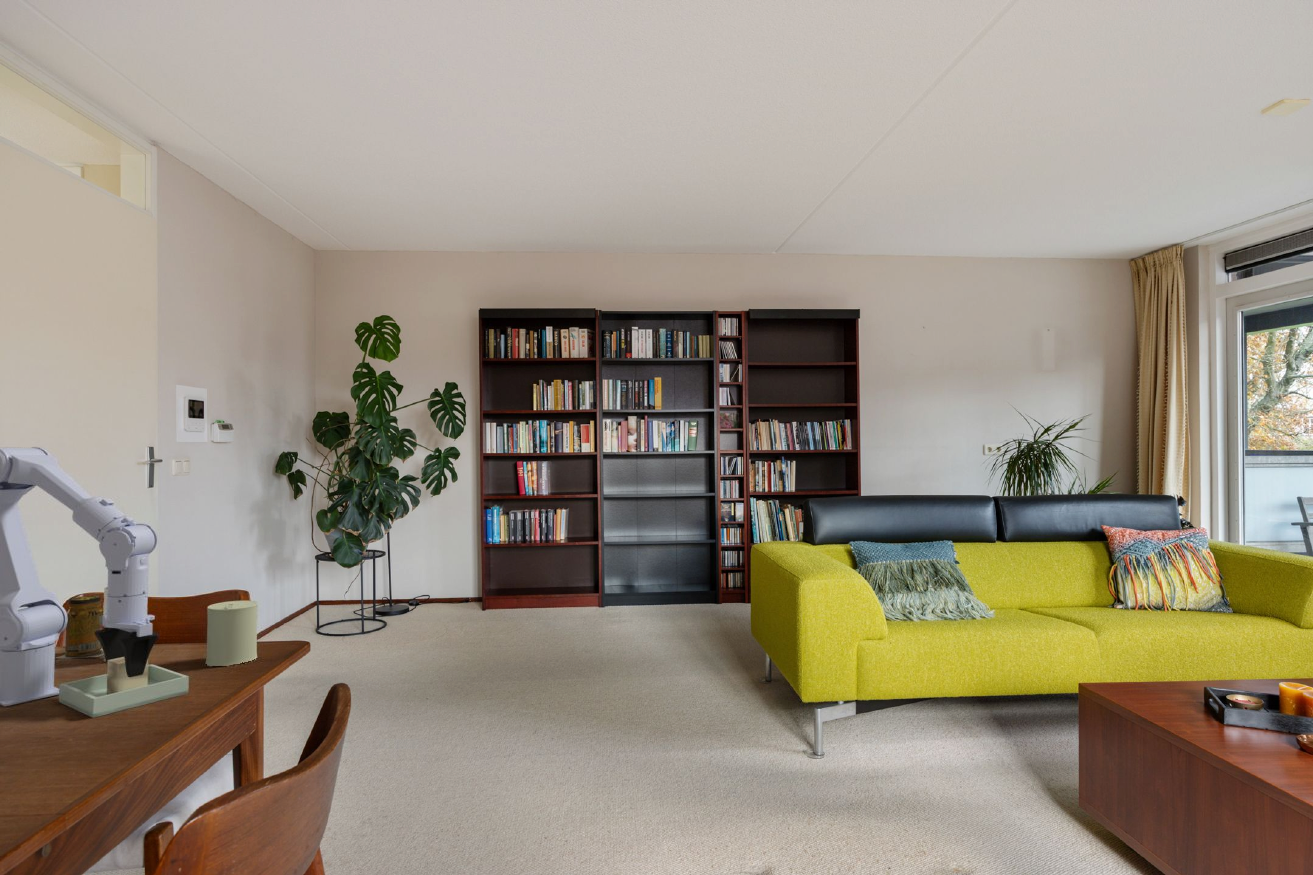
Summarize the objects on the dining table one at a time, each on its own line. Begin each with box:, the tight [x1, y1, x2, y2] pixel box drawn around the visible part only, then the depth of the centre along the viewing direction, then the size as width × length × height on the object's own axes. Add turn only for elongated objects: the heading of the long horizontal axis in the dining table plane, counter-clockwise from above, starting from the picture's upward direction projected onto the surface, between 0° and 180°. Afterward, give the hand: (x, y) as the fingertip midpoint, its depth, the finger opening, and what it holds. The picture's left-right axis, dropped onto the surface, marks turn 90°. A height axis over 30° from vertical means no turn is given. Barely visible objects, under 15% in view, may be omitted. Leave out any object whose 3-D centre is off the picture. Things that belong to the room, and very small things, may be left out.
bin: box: [58, 664, 190, 718], centre depth 123 cm, size 14×14×3 cm
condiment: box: [55, 595, 105, 660], centre depth 150 cm, size 7×8×12 cm
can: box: [205, 600, 259, 667], centre depth 146 cm, size 9×9×12 cm
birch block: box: [106, 657, 149, 695], centre depth 123 cm, size 4×4×6 cm
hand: (125, 672), depth 123 cm, fingers open, 7 cm apart
